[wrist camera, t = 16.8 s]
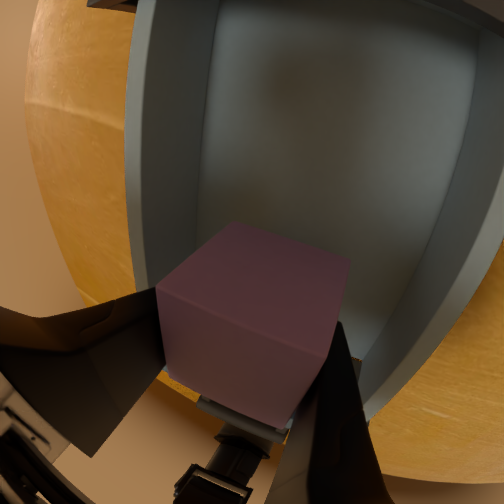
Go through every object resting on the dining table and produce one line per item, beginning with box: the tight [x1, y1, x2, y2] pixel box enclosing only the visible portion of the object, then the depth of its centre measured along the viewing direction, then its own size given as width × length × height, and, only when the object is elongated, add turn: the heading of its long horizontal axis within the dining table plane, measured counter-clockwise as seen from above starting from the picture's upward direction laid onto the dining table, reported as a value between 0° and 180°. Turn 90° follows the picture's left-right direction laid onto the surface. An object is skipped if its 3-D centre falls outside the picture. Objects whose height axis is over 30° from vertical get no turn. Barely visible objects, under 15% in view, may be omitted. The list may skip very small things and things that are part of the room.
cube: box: [156, 221, 351, 429], centre depth 8 cm, size 4×4×4 cm
